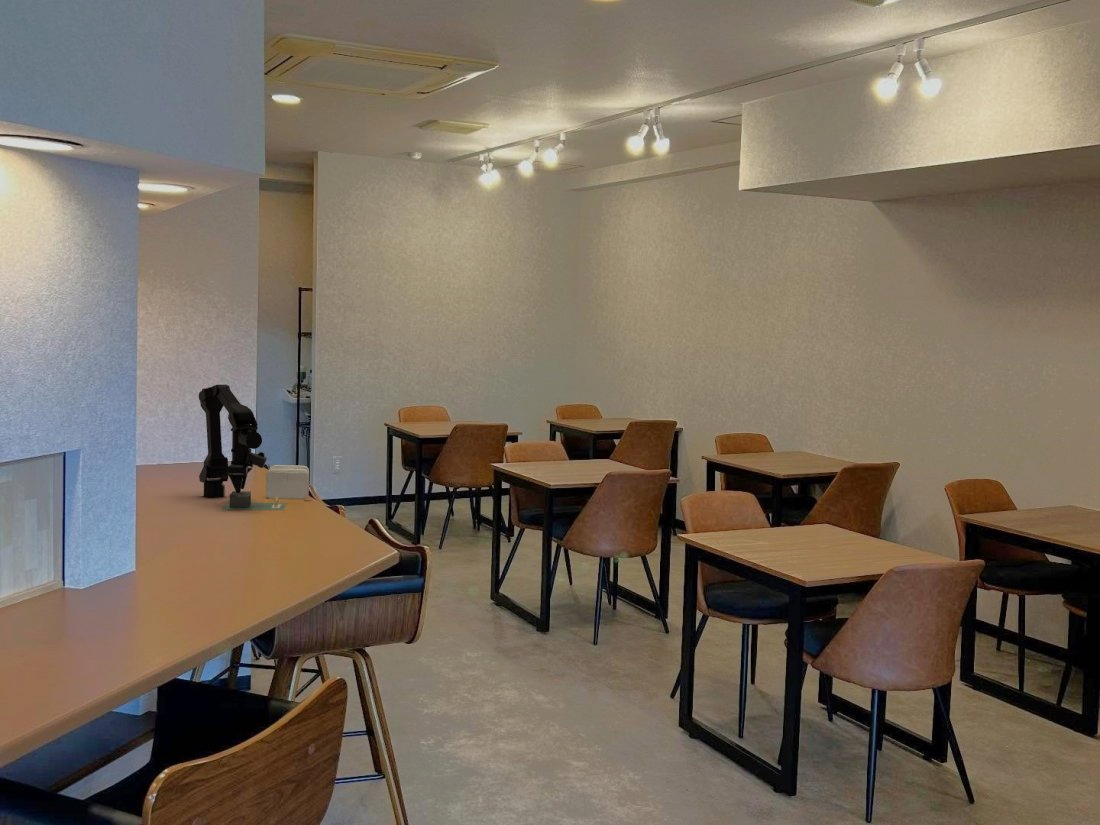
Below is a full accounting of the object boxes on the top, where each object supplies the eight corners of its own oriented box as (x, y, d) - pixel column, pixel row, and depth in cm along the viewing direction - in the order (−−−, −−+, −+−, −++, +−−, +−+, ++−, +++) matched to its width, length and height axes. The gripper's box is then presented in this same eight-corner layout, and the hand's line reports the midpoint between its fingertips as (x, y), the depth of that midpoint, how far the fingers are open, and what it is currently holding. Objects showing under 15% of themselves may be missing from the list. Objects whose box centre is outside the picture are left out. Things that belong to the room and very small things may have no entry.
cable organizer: (311, 496, 378) (311, 465, 378) (307, 501, 368) (308, 469, 367) (269, 496, 377) (270, 464, 376) (265, 500, 366) (265, 468, 365)
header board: (221, 511, 342) (221, 500, 341) (228, 504, 356) (228, 493, 355) (283, 512, 345) (283, 501, 345) (287, 505, 359) (287, 494, 358)
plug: (229, 507, 345) (229, 494, 345) (232, 504, 352) (232, 491, 352) (247, 508, 346) (248, 494, 346) (250, 504, 353) (250, 491, 353)
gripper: (261, 449, 340) (261, 495, 341) (268, 442, 358) (267, 487, 359) (227, 448, 338) (226, 495, 339) (235, 442, 357) (235, 486, 358)
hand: (240, 491), depth 349 cm, fingers open, 9 cm apart
